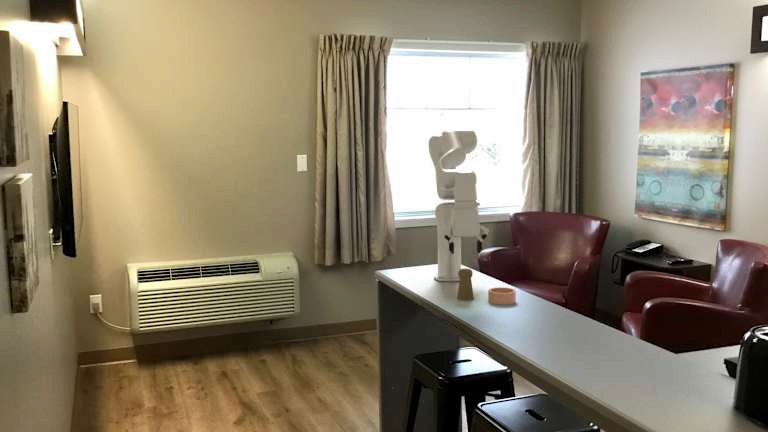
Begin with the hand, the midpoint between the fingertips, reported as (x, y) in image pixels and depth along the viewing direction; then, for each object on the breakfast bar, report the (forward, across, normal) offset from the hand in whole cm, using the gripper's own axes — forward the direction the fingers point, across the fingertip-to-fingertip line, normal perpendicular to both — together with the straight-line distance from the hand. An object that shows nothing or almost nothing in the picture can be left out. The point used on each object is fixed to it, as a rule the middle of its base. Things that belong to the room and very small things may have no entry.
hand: (465, 252), depth 248 cm
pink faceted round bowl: (+17, -12, +5) cm, 21 cm away
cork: (+17, 0, -1) cm, 17 cm away
